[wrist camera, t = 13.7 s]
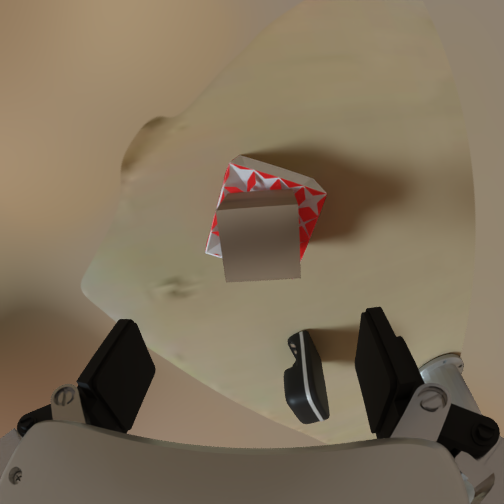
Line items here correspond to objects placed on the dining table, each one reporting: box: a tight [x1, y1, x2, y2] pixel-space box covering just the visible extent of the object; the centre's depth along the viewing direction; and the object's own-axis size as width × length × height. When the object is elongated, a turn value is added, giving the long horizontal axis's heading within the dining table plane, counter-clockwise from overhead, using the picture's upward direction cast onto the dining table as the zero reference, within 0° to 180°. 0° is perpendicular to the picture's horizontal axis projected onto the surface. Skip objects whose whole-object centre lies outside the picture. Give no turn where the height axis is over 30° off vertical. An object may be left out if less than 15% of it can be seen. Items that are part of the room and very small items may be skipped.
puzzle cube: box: [205, 155, 327, 262], centre depth 26 cm, size 8×8×8 cm
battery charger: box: [284, 331, 330, 424], centre depth 32 cm, size 7×4×11 cm, turn 25°
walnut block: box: [216, 189, 301, 282], centre depth 20 cm, size 5×5×5 cm
